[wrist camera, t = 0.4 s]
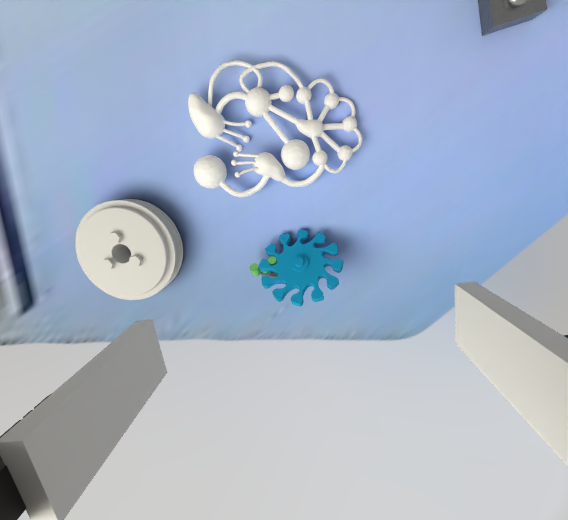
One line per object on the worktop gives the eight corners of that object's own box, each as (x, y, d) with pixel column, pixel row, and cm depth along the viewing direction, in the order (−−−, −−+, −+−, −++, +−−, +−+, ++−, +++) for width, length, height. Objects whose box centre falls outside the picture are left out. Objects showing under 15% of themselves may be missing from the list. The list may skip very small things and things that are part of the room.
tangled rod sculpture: (359, 65, 35) (367, 47, 31) (357, 193, 38) (364, 191, 34) (193, 72, 36) (180, 55, 32) (201, 197, 39) (190, 196, 35)
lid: (140, 178, 39) (117, 178, 34) (204, 255, 41) (191, 265, 36) (75, 237, 42) (45, 244, 37) (139, 307, 44) (118, 322, 39)
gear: (343, 225, 37) (342, 302, 32) (344, 251, 42) (343, 321, 37) (255, 227, 39) (242, 299, 34) (266, 251, 44) (255, 317, 40)
